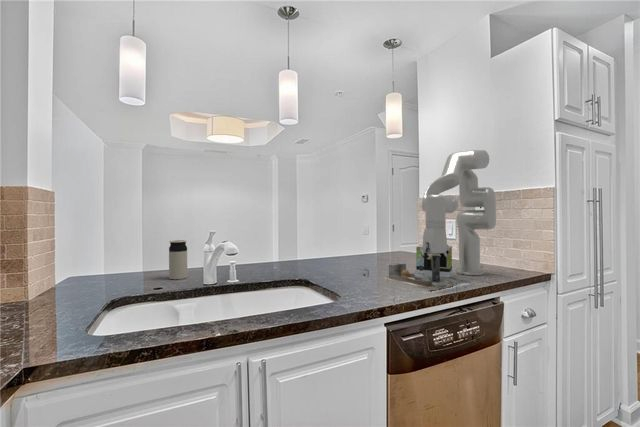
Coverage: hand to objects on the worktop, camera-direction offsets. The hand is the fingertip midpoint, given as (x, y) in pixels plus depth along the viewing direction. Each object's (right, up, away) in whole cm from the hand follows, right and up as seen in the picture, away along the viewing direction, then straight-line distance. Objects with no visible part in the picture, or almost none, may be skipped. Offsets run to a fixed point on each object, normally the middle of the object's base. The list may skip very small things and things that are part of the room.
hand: (435, 268), depth 128 cm
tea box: (+8, -8, +23) cm, 26 cm away
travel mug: (-114, -9, +25) cm, 117 cm away
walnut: (-8, -7, +14) cm, 17 cm away
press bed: (-5, -8, +9) cm, 13 cm away
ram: (-1, -7, +3) cm, 7 cm away
